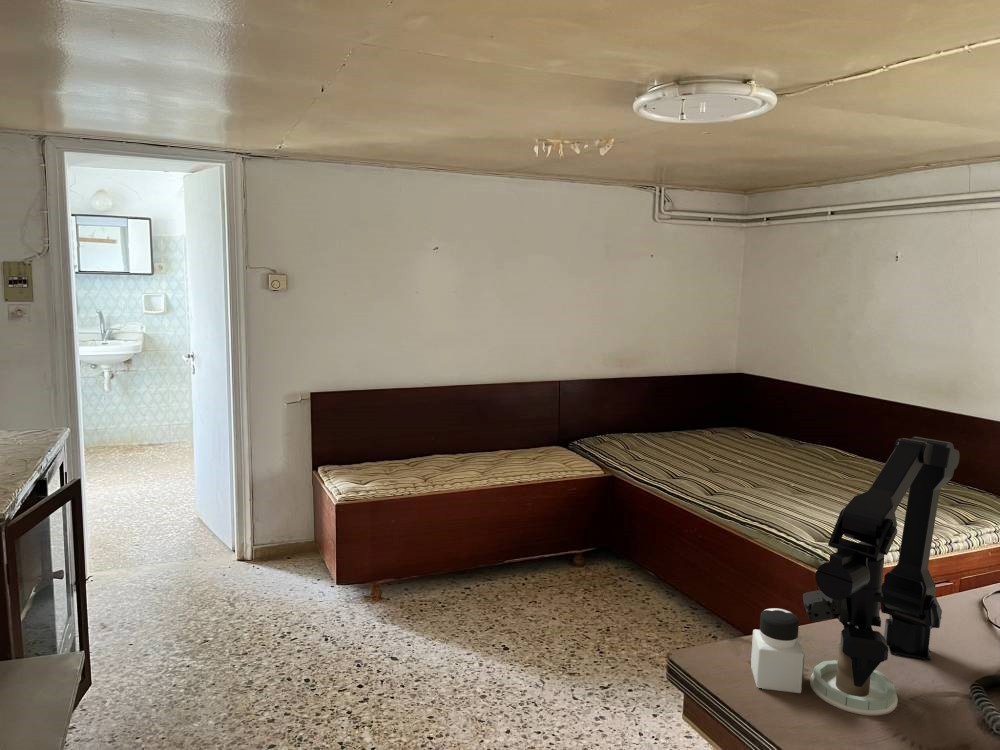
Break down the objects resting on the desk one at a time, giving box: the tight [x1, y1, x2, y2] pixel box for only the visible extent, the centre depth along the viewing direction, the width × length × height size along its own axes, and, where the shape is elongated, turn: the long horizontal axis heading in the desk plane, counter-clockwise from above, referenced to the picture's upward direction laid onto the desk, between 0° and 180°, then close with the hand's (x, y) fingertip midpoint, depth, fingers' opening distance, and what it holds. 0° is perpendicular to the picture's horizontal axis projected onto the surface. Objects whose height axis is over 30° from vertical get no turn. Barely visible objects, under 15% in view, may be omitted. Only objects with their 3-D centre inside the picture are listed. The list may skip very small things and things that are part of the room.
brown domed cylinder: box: [836, 641, 871, 697], centre depth 117 cm, size 5×5×7 cm
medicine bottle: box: [750, 607, 805, 694], centre depth 120 cm, size 7×7×12 cm
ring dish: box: [809, 659, 899, 716], centre depth 117 cm, size 13×13×2 cm
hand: (854, 671), depth 117 cm, fingers open, 9 cm apart
